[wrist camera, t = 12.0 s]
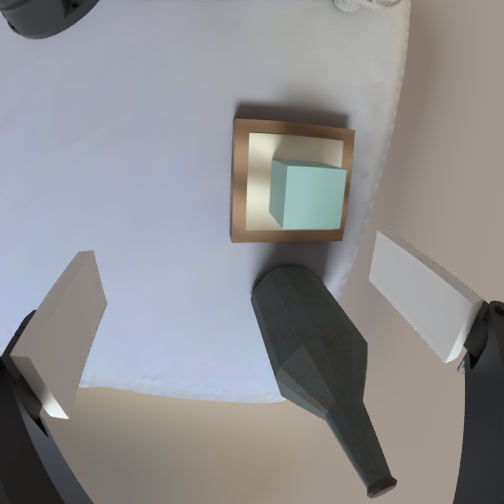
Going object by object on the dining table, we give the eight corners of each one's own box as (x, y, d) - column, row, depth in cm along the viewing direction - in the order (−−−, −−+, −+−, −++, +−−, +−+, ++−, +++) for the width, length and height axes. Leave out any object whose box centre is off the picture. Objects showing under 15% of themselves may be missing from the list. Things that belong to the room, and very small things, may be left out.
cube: (271, 159, 31) (287, 165, 25) (322, 162, 32) (346, 170, 27) (268, 211, 33) (282, 228, 28) (317, 212, 34) (339, 228, 29)
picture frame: (233, 119, 31) (235, 118, 29) (345, 129, 33) (355, 130, 31) (229, 235, 36) (232, 243, 34) (334, 234, 39) (342, 241, 36)
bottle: (324, 262, 40) (464, 437, 13) (314, 319, 44) (408, 490, 17) (251, 264, 38) (341, 494, 11) (248, 324, 42) (306, 527, 15)
